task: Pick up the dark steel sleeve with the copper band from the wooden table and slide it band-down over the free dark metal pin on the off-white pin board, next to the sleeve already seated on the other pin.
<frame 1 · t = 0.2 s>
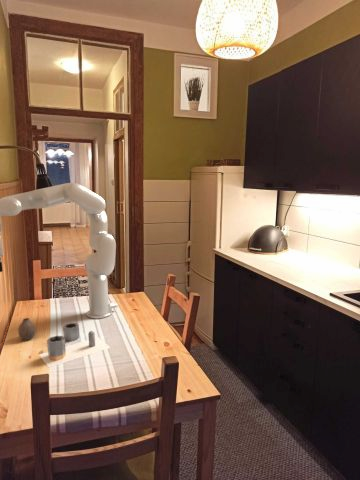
seated sleeve: (57, 356, 132), point 1 cm above the table, touching pin board
pin board: (75, 354, 136), on the table
loose sleeve: (71, 341, 147), on the table
vase: (27, 338, 151), on the table
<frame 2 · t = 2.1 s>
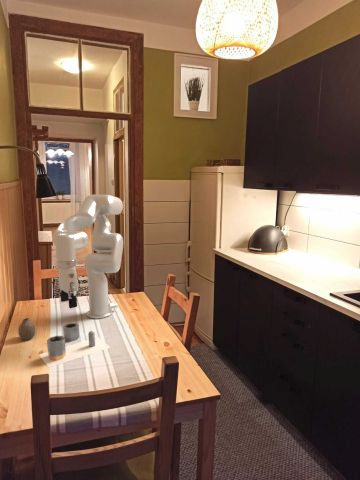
hand: (68, 304, 144), 17 cm above the table, tool pointing down, fingers open, 9 cm apart
nothing on the table moved.
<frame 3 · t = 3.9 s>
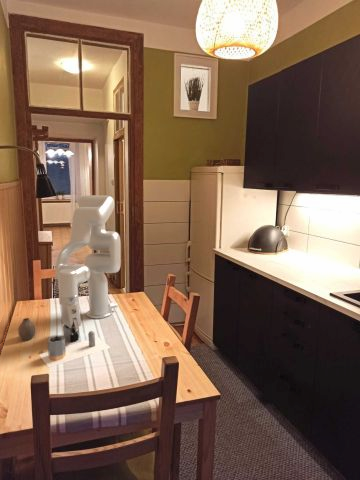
hand: (71, 339, 147), 1 cm above the table, tool pointing down, fingers closed on loose sleeve, 5 cm apart
loose sleeve: (71, 341, 147), on the table, touching gripper
everything else where it was.
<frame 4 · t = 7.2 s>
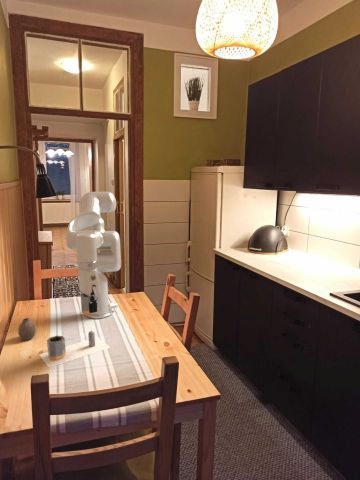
hand: (89, 309, 137), 17 cm above the table, tool pointing down, fingers closed on loose sleeve, 5 cm apart
loose sleeve: (89, 311, 137), point 16 cm above the table, touching gripper
everything else where it was.
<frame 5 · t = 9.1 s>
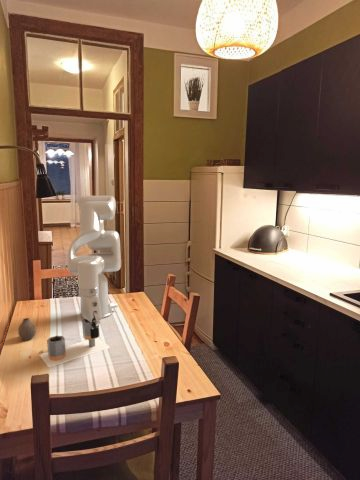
hand: (91, 334, 139), 6 cm above the table, tool pointing down, fingers closed on loose sleeve, 5 cm apart
loose sleeve: (91, 336, 139), point 6 cm above the table, touching gripper
everything else where it was.
when the fingers open (3 cm above the table, at t = 10.6 s): loose sleeve stays where it is, resting on pin board.
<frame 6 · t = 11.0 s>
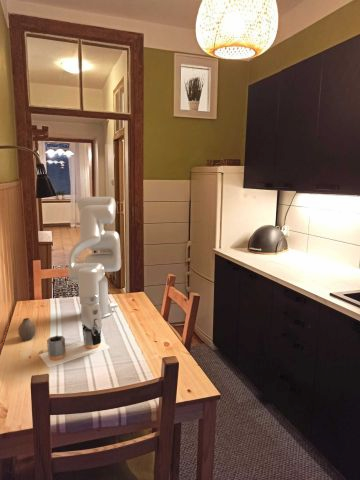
hand: (91, 339, 140), 4 cm above the table, tool pointing down, fingers open, 9 cm apart
loose sleeve: (92, 345, 140), point 1 cm above the table, touching pin board
everything else where it was.
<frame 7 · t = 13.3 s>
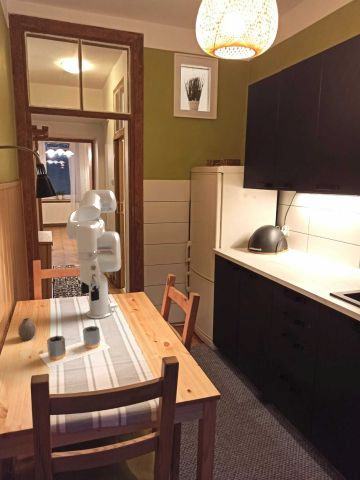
hand: (90, 296, 140), 21 cm above the table, tool pointing down, fingers open, 9 cm apart
nothing on the table moved.
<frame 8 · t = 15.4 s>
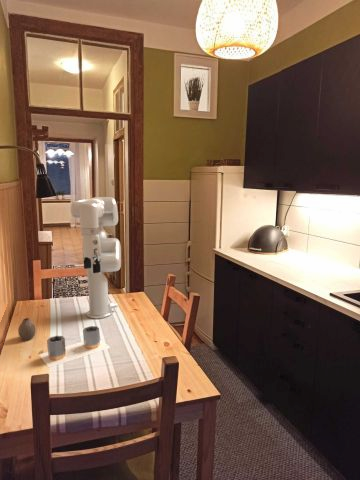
hand: (92, 270, 152), 28 cm above the table, tool pointing down, fingers open, 9 cm apart
nothing on the table moved.
at the end: loose sleeve 0.0 cm from the target spot on the pin board, point 1.5 cm above the pin board's base; loose sleeve tilted 0°; the gripper is holding nothing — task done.
